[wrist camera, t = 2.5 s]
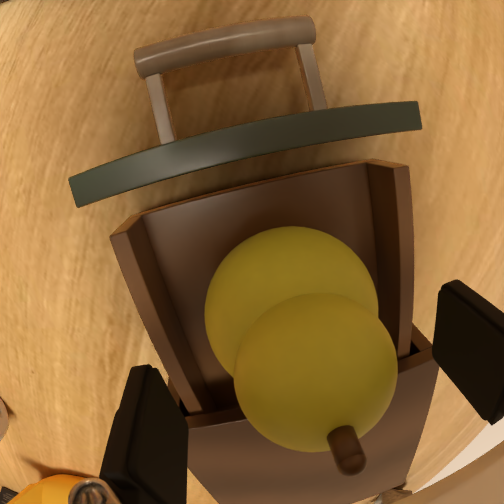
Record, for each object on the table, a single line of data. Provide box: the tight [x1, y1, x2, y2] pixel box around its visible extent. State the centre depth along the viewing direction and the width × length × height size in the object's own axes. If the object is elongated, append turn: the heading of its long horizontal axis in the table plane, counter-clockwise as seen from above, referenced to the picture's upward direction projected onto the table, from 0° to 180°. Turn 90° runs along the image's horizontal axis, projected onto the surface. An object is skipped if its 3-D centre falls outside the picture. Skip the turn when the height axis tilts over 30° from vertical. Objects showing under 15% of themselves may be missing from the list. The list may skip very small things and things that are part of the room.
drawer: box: [68, 15, 422, 416], centre depth 14 cm, size 20×14×4 cm
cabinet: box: [167, 323, 439, 504], centre depth 19 cm, size 17×15×6 cm
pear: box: [204, 226, 398, 477], centre depth 10 cm, size 7×7×10 cm
